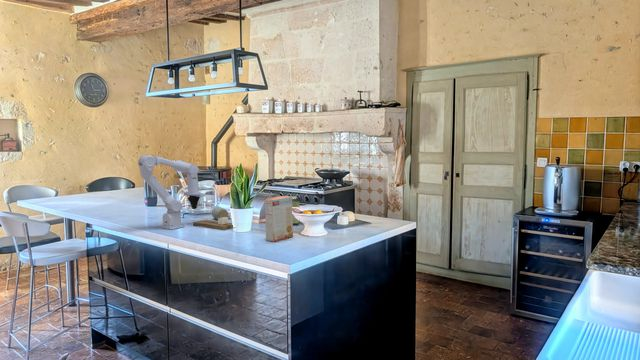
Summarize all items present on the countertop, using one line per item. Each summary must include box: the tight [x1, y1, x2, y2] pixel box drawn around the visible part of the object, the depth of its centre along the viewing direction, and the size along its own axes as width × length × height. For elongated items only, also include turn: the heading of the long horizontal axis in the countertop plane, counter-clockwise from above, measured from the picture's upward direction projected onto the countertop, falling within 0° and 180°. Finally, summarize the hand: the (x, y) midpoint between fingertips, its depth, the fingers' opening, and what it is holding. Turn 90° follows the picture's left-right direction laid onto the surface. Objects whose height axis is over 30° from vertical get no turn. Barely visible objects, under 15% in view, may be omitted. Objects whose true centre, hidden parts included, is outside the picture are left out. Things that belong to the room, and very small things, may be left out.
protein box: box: [272, 196, 300, 227], centre depth 264 cm, size 10×16×16 cm
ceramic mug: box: [211, 206, 231, 220], centre depth 280 cm, size 11×8×8 cm
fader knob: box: [217, 217, 229, 225], centre depth 254 cm, size 5×3×3 cm, turn 147°
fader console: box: [192, 218, 234, 231], centre depth 258 cm, size 10×24×2 cm, turn 57°
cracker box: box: [264, 195, 294, 243], centre depth 226 cm, size 14×6×21 cm, turn 141°
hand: (194, 208), depth 262 cm, fingers closed
